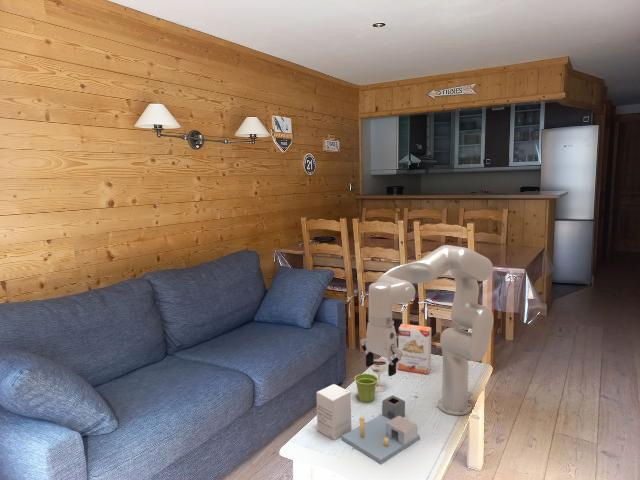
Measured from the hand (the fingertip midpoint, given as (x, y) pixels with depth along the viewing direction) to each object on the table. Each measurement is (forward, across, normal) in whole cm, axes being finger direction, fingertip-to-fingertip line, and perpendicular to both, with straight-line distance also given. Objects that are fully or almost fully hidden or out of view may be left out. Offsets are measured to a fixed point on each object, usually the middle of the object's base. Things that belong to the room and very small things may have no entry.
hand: (380, 370), depth 152 cm
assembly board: (+26, +2, -2) cm, 27 cm away
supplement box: (+27, +17, +6) cm, 32 cm away
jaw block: (+27, +8, -17) cm, 33 cm away
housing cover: (+25, -4, -7) cm, 26 cm away
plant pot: (+27, +24, -19) cm, 41 cm away
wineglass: (+27, +26, -29) cm, 47 cm away
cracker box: (+27, +27, -54) cm, 66 cm away
